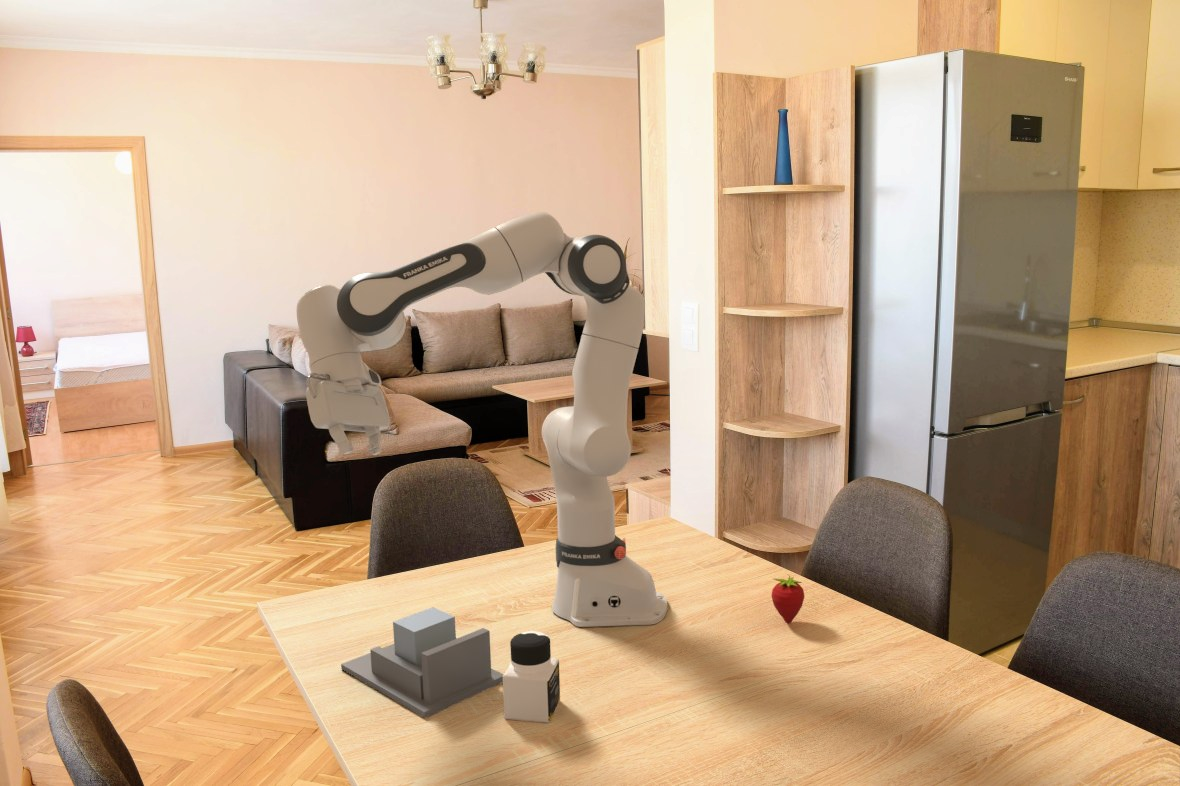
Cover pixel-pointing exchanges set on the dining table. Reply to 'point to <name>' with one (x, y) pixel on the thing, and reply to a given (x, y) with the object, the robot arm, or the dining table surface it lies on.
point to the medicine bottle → (531, 679)
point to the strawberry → (788, 598)
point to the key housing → (430, 673)
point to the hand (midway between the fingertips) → (362, 453)
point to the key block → (422, 633)
